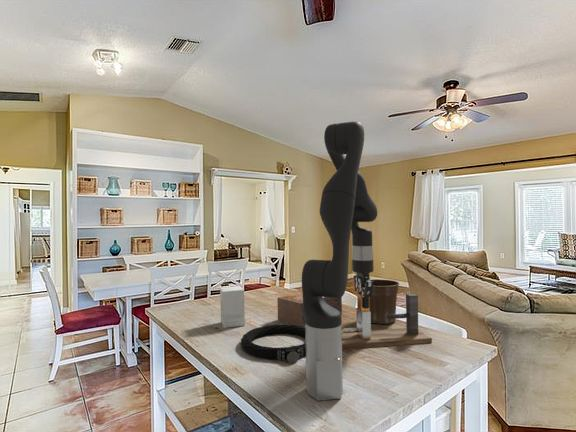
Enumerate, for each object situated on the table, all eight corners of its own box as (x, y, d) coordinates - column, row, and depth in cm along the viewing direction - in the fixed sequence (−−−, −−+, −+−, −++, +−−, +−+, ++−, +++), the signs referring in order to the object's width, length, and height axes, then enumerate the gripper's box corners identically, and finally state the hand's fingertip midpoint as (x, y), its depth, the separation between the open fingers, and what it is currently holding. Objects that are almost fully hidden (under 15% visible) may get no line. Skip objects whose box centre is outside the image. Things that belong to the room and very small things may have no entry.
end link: (371, 338, 120) (370, 296, 120) (345, 340, 119) (344, 297, 119) (364, 332, 126) (364, 292, 126) (340, 334, 125) (339, 293, 125)
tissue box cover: (301, 328, 139) (300, 303, 139) (277, 320, 149) (277, 297, 149) (341, 315, 156) (341, 293, 156) (318, 309, 167) (317, 288, 167)
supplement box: (241, 319, 151) (240, 285, 151) (245, 325, 142) (244, 289, 142) (220, 322, 148) (219, 287, 148) (223, 328, 139) (222, 291, 139)
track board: (431, 342, 120) (431, 297, 120) (337, 349, 115) (336, 302, 115) (414, 331, 132) (413, 290, 132) (327, 337, 127) (327, 295, 127)
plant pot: (353, 317, 151) (352, 280, 151) (382, 313, 158) (382, 277, 158) (376, 328, 136) (375, 287, 136) (408, 322, 143) (407, 283, 143)
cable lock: (305, 320, 138) (335, 346, 109) (305, 329, 138) (335, 358, 109) (235, 326, 130) (247, 357, 102) (235, 336, 130) (248, 370, 101)
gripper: (380, 260, 117) (381, 311, 116) (365, 255, 131) (366, 301, 131) (359, 261, 115) (360, 312, 115) (346, 256, 130) (346, 302, 129)
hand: (363, 306), depth 123 cm, fingers closed on end link, 4 cm apart
